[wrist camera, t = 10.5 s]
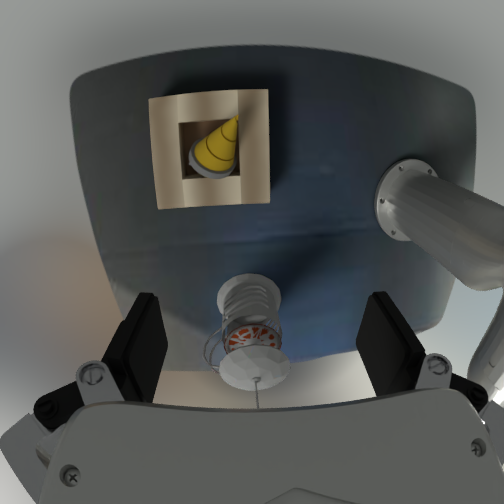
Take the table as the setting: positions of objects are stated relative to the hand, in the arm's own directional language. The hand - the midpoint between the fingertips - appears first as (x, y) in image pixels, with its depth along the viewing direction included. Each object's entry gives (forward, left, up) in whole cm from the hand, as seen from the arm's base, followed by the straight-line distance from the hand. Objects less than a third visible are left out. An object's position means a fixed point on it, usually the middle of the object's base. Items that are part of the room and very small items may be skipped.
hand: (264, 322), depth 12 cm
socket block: (+4, -6, -25) cm, 26 cm away
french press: (+1, +17, -25) cm, 31 cm away
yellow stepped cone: (+3, -5, -24) cm, 25 cm away
